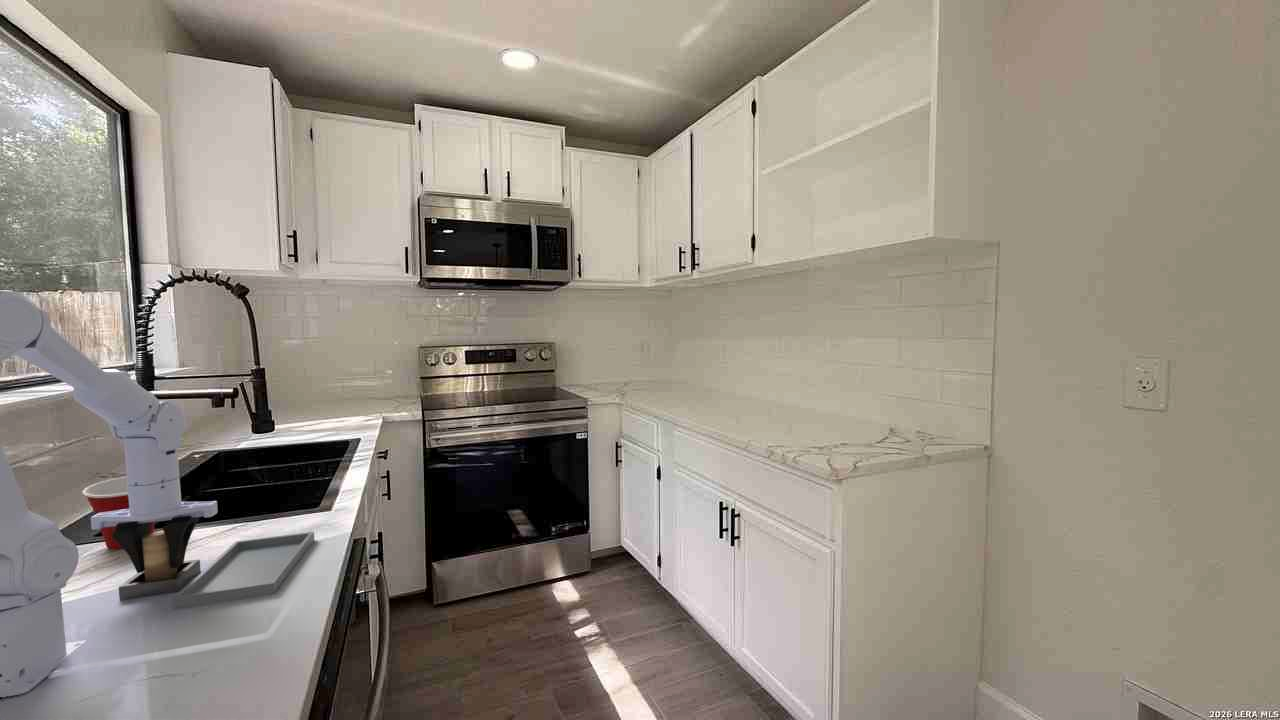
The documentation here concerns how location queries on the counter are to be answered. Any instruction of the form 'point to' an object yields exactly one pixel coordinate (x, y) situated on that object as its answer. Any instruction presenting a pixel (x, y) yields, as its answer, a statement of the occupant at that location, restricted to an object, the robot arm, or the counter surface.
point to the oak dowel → (157, 557)
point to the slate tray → (246, 570)
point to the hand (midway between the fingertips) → (161, 567)
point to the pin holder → (159, 582)
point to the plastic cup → (109, 504)
